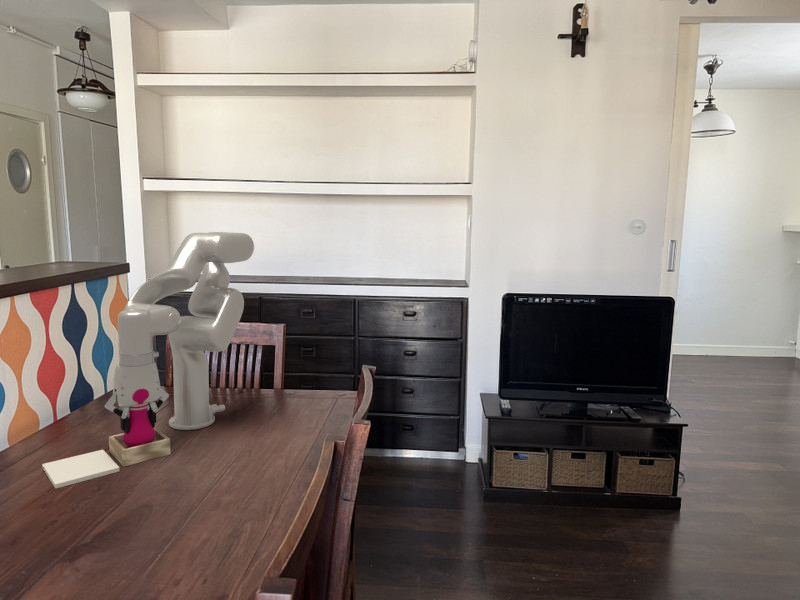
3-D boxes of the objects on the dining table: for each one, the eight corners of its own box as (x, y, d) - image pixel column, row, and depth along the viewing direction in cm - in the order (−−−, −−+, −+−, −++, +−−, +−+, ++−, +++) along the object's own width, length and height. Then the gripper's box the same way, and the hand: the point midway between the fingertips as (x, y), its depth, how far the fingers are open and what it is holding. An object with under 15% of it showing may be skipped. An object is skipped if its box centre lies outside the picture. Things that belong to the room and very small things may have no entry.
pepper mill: (143, 460, 132) (140, 382, 129) (117, 457, 134) (113, 379, 131) (161, 448, 139) (159, 374, 136) (136, 445, 141) (134, 371, 138)
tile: (103, 453, 136) (102, 449, 135) (119, 471, 126) (119, 467, 126) (42, 468, 127) (42, 464, 126) (55, 488, 117) (55, 484, 117)
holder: (154, 440, 144) (154, 426, 144) (170, 454, 136) (170, 439, 136) (109, 451, 137) (108, 436, 136) (123, 466, 129) (122, 450, 128)
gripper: (165, 351, 142) (167, 417, 144) (93, 361, 130) (97, 432, 132) (177, 357, 136) (178, 425, 139) (102, 367, 124) (106, 442, 127)
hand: (138, 428), depth 136 cm, fingers closed on pepper mill, 5 cm apart
